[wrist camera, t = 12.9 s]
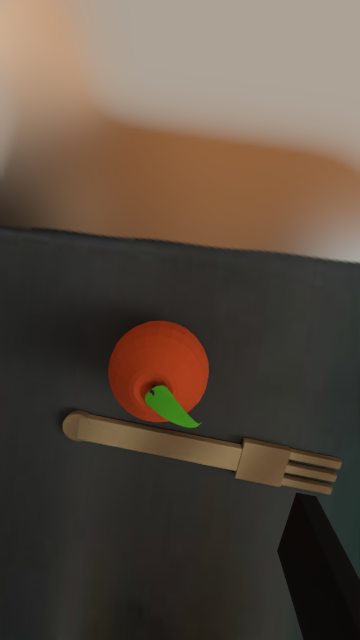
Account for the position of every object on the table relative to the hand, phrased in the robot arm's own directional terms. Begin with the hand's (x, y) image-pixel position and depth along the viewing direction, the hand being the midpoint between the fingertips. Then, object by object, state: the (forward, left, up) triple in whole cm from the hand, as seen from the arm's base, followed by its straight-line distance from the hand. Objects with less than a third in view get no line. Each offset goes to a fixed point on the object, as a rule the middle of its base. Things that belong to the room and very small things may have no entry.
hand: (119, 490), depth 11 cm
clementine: (+1, +1, -14) cm, 14 cm away
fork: (+5, -7, -14) cm, 16 cm away
